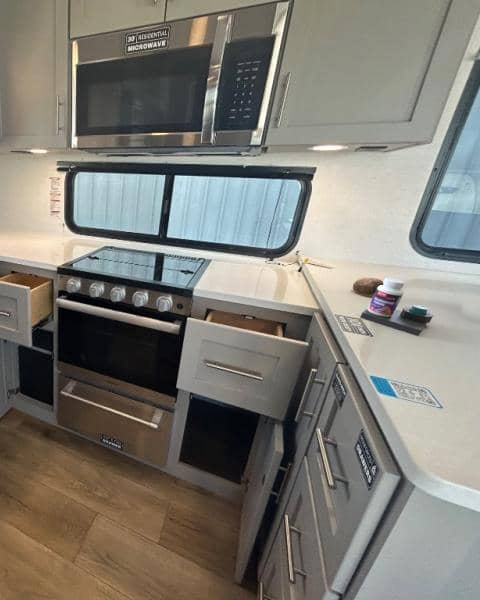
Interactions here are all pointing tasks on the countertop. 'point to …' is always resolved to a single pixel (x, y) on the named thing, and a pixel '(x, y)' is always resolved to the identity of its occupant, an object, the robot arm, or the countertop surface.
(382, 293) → the pill bottle
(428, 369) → the countertop surface
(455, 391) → the countertop surface
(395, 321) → the scale
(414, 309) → the tare button
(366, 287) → the brown oval lump
